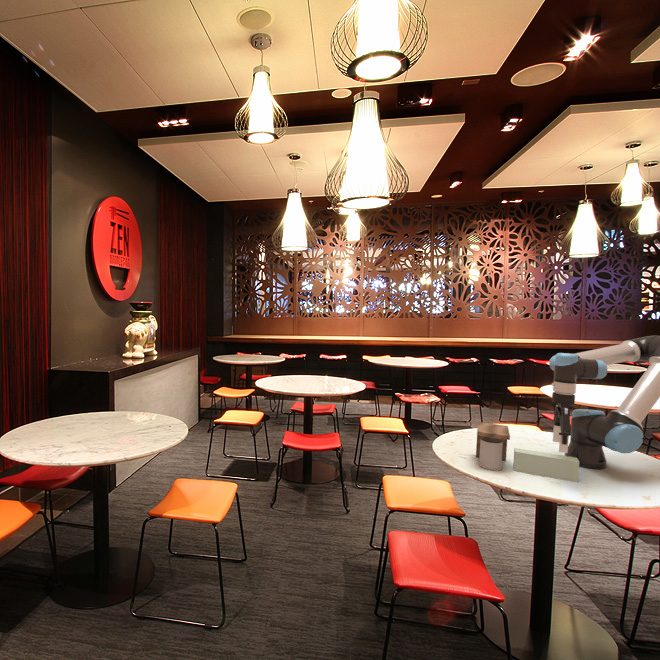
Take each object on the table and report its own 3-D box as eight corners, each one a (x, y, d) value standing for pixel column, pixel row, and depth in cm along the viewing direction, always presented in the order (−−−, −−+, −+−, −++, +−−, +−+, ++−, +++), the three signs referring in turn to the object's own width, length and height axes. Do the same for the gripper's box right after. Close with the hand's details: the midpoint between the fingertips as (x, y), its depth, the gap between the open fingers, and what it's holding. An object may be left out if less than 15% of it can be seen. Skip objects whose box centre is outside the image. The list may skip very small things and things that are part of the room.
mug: (502, 471, 152) (504, 444, 151) (479, 468, 154) (481, 441, 154) (499, 461, 163) (500, 435, 163) (477, 458, 166) (479, 433, 165)
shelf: (505, 460, 164) (507, 425, 164) (507, 473, 150) (509, 436, 149) (476, 455, 169) (477, 421, 168) (475, 468, 154) (477, 431, 154)
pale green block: (575, 477, 149) (576, 457, 149) (578, 482, 144) (579, 462, 144) (513, 466, 158) (514, 447, 158) (513, 471, 153) (514, 451, 153)
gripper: (547, 386, 161) (544, 436, 162) (558, 397, 138) (554, 455, 139) (568, 389, 158) (564, 439, 159) (582, 400, 135) (578, 459, 136)
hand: (559, 447), depth 149 cm, fingers open, 13 cm apart
